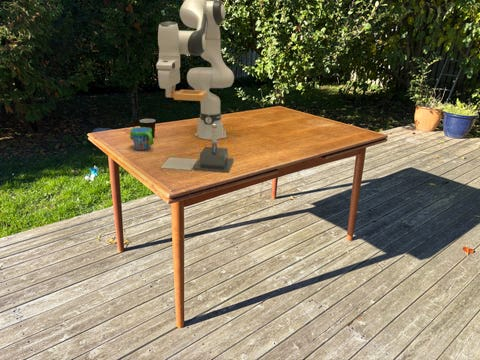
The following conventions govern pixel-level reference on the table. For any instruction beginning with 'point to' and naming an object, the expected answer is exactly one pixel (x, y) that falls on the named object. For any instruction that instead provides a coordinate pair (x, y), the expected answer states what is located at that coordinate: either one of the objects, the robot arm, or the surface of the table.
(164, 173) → the table surface
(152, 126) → the coffee mug
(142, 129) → the snack cup
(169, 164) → the mat
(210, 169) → the stand
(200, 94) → the orange handled frame
